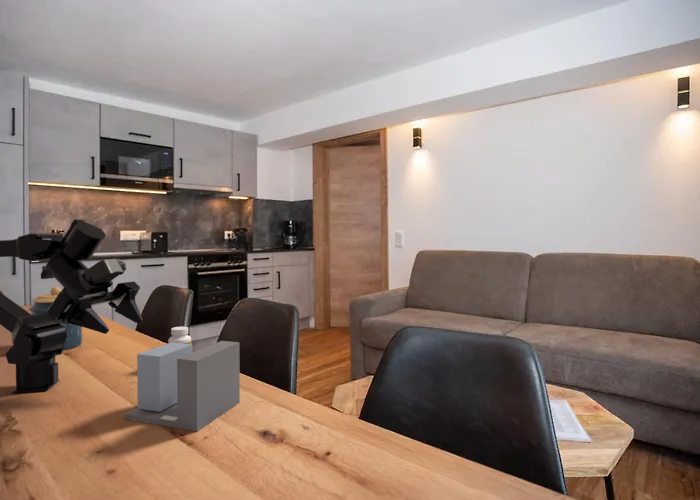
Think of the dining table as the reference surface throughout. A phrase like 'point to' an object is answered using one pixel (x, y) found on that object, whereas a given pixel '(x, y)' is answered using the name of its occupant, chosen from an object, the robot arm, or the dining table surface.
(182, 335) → the supplement bottle
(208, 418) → the plate
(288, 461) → the dining table surface
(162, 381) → the blue-gray rectangular block
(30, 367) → the robot arm
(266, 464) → the dining table surface
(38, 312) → the canister
